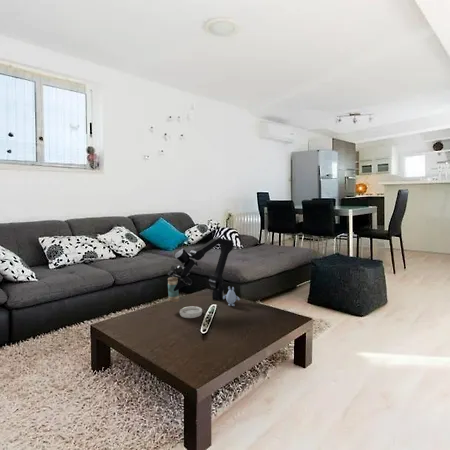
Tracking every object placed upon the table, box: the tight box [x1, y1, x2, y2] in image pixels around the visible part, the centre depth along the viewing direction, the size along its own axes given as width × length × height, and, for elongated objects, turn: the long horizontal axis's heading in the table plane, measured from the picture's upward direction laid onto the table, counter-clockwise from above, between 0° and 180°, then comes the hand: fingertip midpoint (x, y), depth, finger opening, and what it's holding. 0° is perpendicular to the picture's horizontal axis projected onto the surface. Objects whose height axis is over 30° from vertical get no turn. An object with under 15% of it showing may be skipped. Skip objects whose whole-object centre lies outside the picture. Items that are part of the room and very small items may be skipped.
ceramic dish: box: [179, 305, 203, 319], centre depth 198 cm, size 12×12×2 cm
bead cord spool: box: [167, 276, 180, 303], centre depth 201 cm, size 6×6×13 cm
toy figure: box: [223, 285, 241, 307], centre depth 209 cm, size 11×6×12 cm, turn 72°
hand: (171, 289), depth 200 cm, fingers closed on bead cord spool, 6 cm apart
